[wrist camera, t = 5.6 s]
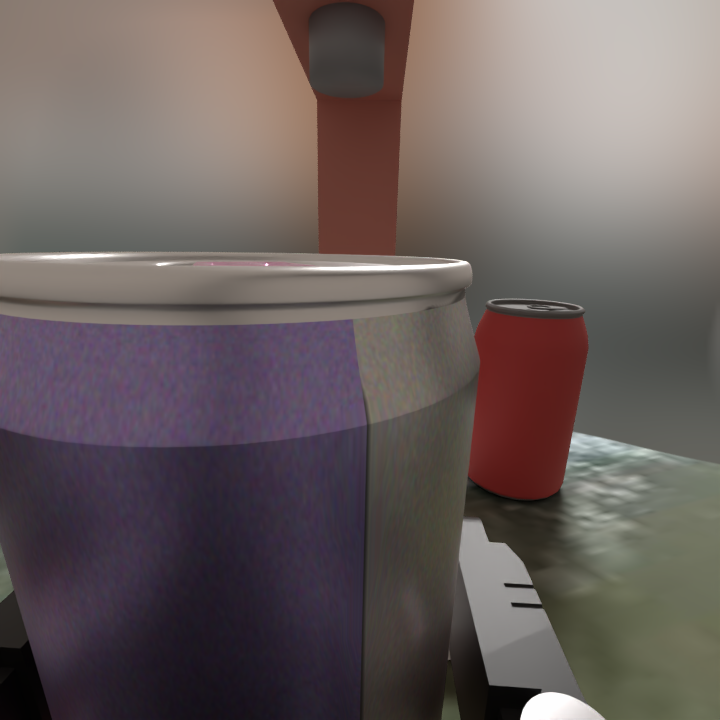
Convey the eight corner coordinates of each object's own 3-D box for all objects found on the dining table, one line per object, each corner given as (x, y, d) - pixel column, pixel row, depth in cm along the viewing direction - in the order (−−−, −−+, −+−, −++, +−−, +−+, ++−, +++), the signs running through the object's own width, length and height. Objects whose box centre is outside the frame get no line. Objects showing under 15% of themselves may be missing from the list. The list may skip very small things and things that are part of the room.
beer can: (575, 513, 23) (615, 316, 20) (462, 498, 24) (482, 309, 21) (547, 457, 29) (574, 300, 26) (458, 447, 31) (473, 295, 27)
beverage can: (160, 1375, 5) (-465, 278, 1) (146, 831, 10) (16, 250, 6) (472, 987, 8) (614, 265, 4) (343, 708, 13) (347, 253, 9)
